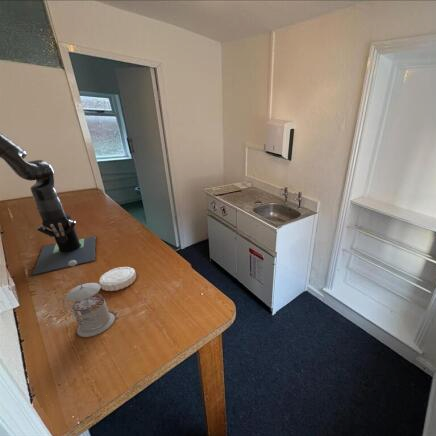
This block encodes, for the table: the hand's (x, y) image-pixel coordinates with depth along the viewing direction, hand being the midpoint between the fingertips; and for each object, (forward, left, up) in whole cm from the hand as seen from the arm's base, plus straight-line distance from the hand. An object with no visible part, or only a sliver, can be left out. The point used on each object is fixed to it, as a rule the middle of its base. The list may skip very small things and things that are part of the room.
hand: (64, 242), depth 107 cm
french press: (+10, -55, -6) cm, 56 cm away
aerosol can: (0, +5, -6) cm, 8 cm away
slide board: (0, 0, -6) cm, 6 cm away
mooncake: (+18, -35, -6) cm, 40 cm away
